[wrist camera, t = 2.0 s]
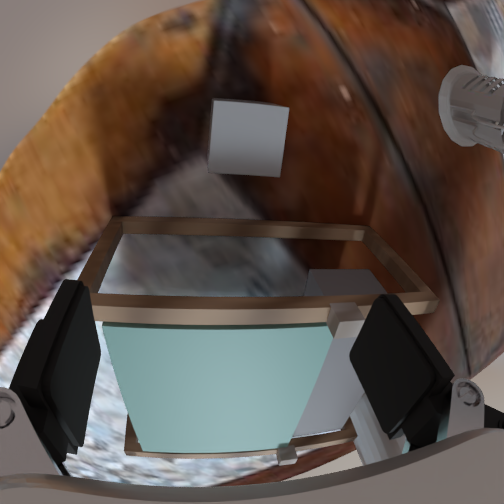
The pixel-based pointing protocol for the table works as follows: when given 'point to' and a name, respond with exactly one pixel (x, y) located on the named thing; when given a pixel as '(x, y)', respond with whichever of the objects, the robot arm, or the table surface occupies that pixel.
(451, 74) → the french press
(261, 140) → the smooth gray block
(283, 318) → the stand
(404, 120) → the table surface
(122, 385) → the hatch door
